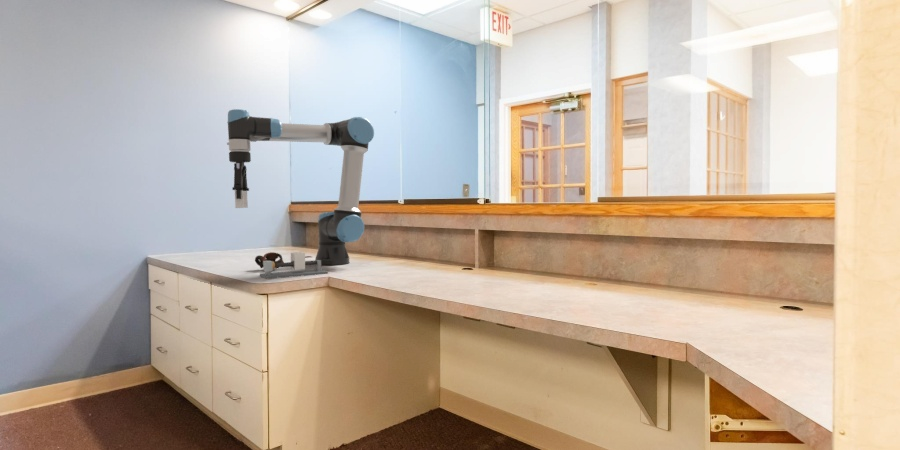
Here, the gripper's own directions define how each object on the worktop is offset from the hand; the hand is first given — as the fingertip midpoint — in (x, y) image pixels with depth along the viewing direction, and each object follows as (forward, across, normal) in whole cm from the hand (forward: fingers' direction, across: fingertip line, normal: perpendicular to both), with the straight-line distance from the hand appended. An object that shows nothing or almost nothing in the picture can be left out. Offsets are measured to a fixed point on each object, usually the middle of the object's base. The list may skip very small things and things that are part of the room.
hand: (241, 207), depth 194 cm
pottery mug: (+26, -14, +8) cm, 31 cm away
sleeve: (+24, +4, +20) cm, 31 cm away
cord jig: (+26, +4, +18) cm, 32 cm away
